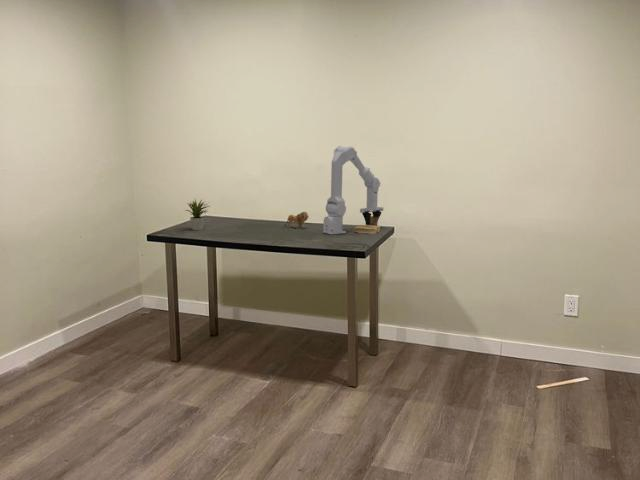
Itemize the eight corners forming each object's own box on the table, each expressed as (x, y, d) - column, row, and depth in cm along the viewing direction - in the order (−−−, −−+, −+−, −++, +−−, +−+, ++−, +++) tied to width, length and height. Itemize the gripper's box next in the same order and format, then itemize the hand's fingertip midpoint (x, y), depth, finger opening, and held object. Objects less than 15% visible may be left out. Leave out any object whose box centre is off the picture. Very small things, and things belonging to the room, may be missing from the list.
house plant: (204, 232, 305) (203, 200, 302) (179, 231, 308) (178, 199, 305) (215, 228, 319) (214, 197, 316) (190, 227, 321) (189, 196, 318)
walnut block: (370, 229, 318) (370, 217, 317) (365, 227, 322) (365, 216, 321) (377, 228, 321) (377, 217, 320) (372, 227, 324) (372, 216, 323)
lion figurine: (310, 228, 321) (310, 211, 319) (305, 229, 316) (305, 212, 314) (286, 225, 327) (286, 209, 326) (281, 227, 323) (281, 210, 321)
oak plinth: (375, 234, 303) (375, 229, 303) (354, 232, 307) (354, 227, 306) (380, 230, 313) (380, 225, 313) (360, 229, 317) (360, 224, 316)
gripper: (365, 201, 311) (365, 227, 314) (387, 199, 319) (386, 225, 322) (357, 200, 317) (357, 225, 320) (379, 198, 325) (378, 223, 328)
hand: (371, 225), depth 321 cm, fingers closed on walnut block, 4 cm apart
